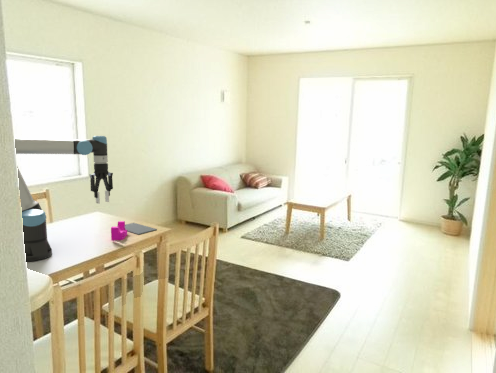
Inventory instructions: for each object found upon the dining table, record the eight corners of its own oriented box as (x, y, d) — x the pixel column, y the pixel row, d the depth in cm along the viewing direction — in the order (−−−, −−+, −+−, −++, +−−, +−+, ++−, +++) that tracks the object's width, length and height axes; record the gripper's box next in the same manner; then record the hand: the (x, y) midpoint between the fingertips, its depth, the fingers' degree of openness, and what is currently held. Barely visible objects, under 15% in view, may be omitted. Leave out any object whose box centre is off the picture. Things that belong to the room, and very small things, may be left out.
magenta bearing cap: (122, 240, 211) (121, 227, 210) (111, 240, 210) (110, 227, 209) (129, 233, 226) (129, 221, 224) (119, 232, 225) (118, 221, 224)
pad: (138, 234, 221) (138, 233, 221) (115, 227, 236) (115, 226, 236) (156, 230, 232) (156, 229, 232) (133, 223, 247) (133, 222, 247)
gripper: (89, 164, 200) (91, 205, 204) (118, 162, 214) (120, 201, 218) (82, 163, 204) (84, 203, 208) (111, 161, 219) (112, 199, 223)
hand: (102, 202), depth 213 cm, fingers open, 5 cm apart
